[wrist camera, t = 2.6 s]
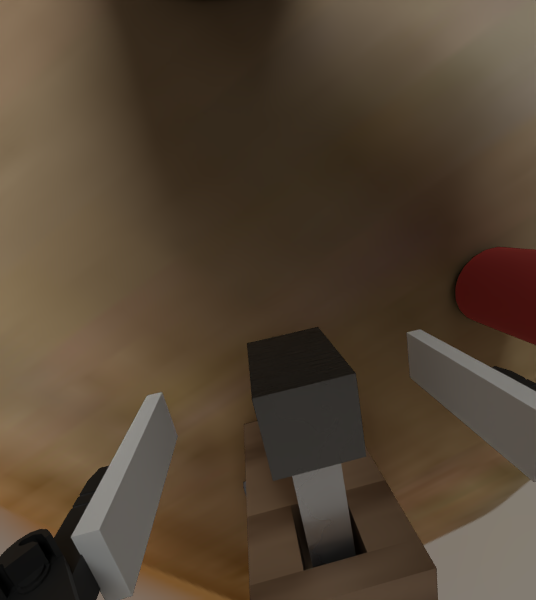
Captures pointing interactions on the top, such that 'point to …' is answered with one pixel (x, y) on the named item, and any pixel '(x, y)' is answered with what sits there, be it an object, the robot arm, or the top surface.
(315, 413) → the shaft
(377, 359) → the top surface
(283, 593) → the bearing block
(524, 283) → the beer can
